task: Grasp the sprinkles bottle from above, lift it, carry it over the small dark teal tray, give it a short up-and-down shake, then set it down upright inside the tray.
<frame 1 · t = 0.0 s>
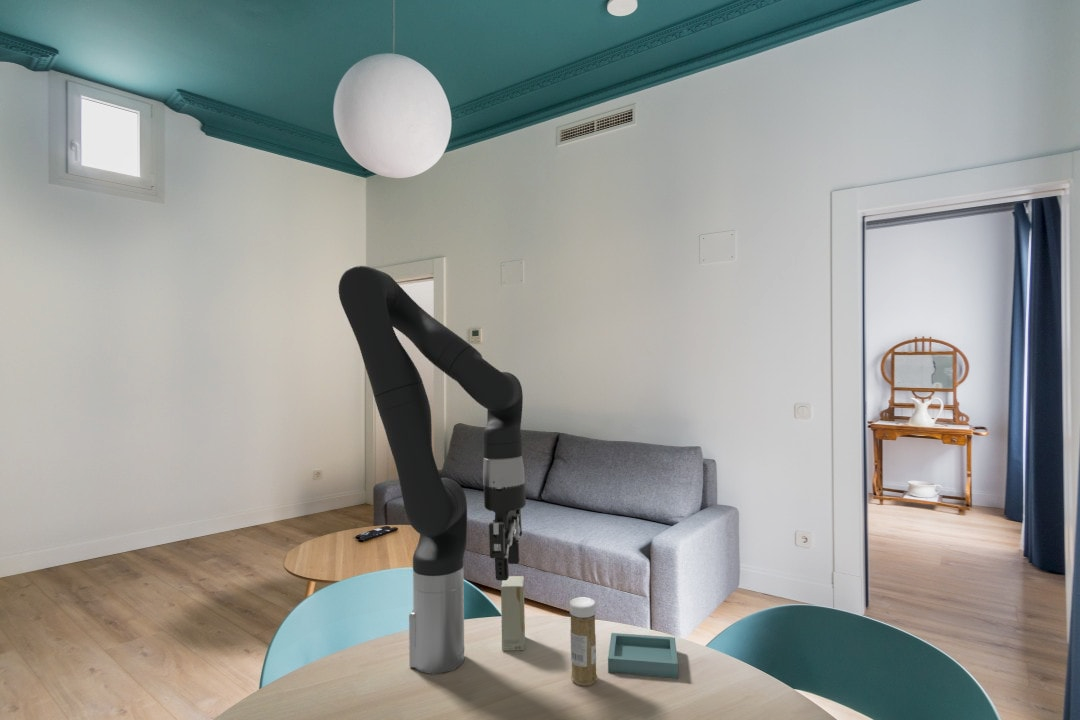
hand: (508, 571, 104), 17 cm above the table, tool pointing down, fingers open, 8 cm apart
skincare box: (513, 644, 113), on the table
sprinkles bottle: (583, 681, 99), on the table
tray: (642, 661, 105), on the table
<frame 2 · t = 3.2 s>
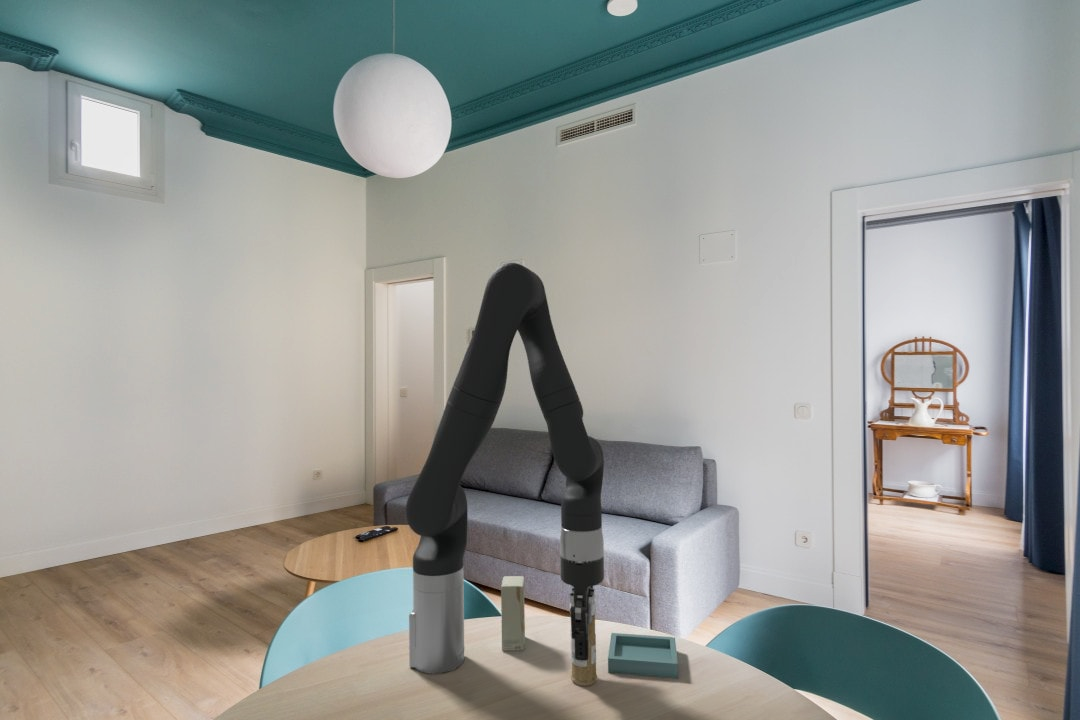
hand: (583, 651, 99), 5 cm above the table, tool pointing down, fingers closed on sprinkles bottle, 4 cm apart
sprinkles bottle: (583, 680, 99), on the table, touching gripper
everything else where it was.
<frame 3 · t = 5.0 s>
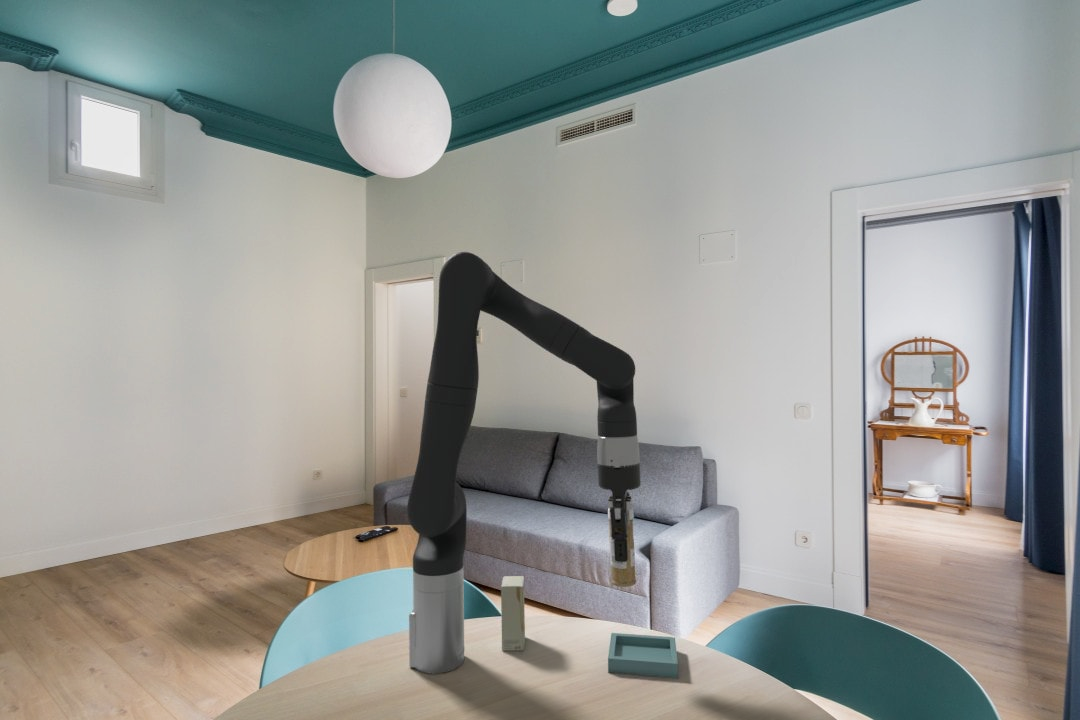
hand: (622, 556, 103), 20 cm above the table, tool pointing down, fingers closed on sprinkles bottle, 4 cm apart
sprinkles bottle: (623, 584, 103), point 15 cm above the table, touching gripper
everything else where it was.
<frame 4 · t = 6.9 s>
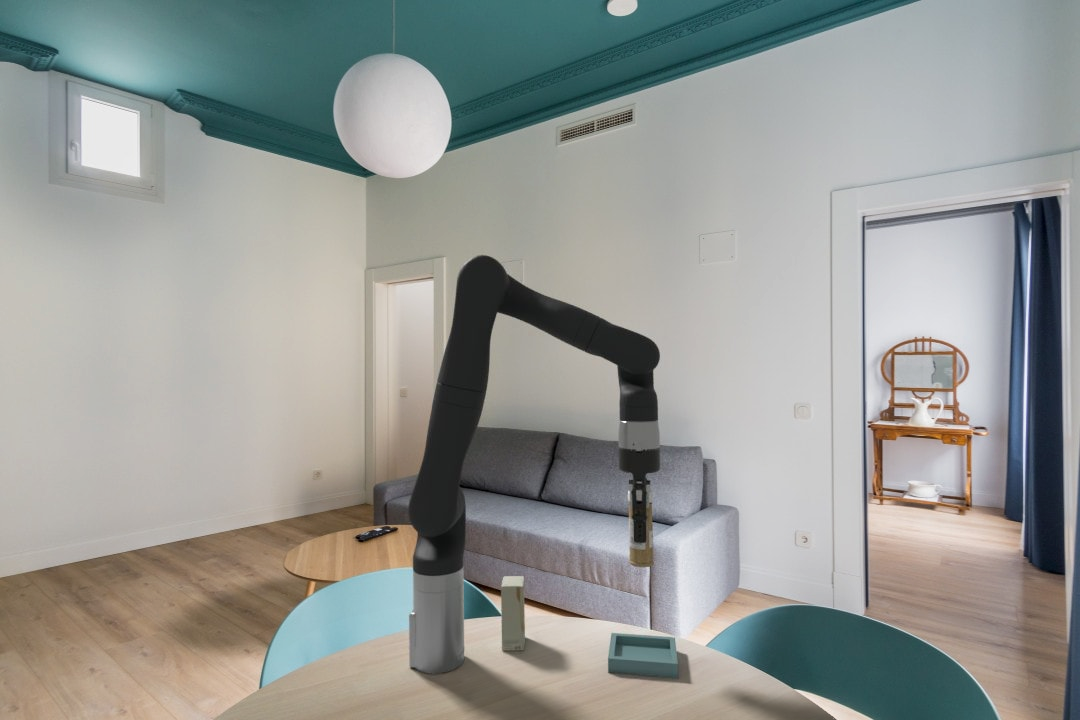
hand: (640, 537, 106), 22 cm above the table, tool pointing down, fingers closed on sprinkles bottle, 4 cm apart
sprinkles bottle: (641, 565, 105), point 17 cm above the table, touching gripper
everything else where it was.
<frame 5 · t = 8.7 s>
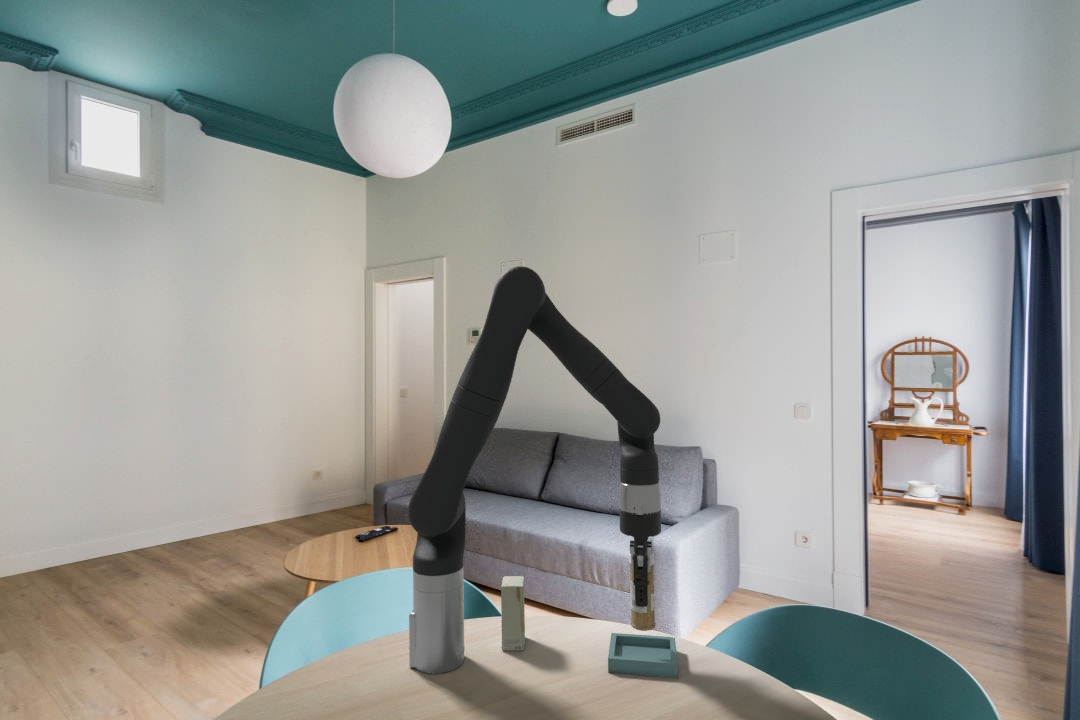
hand: (641, 599, 105), 11 cm above the table, tool pointing down, fingers closed on sprinkles bottle, 4 cm apart
sprinkles bottle: (642, 627, 105), point 6 cm above the table, touching gripper
everything else where it was.
when the fingers open (7 cm above the table, at t = 10.5 s): sprinkles bottle stays where it is, resting on tray.
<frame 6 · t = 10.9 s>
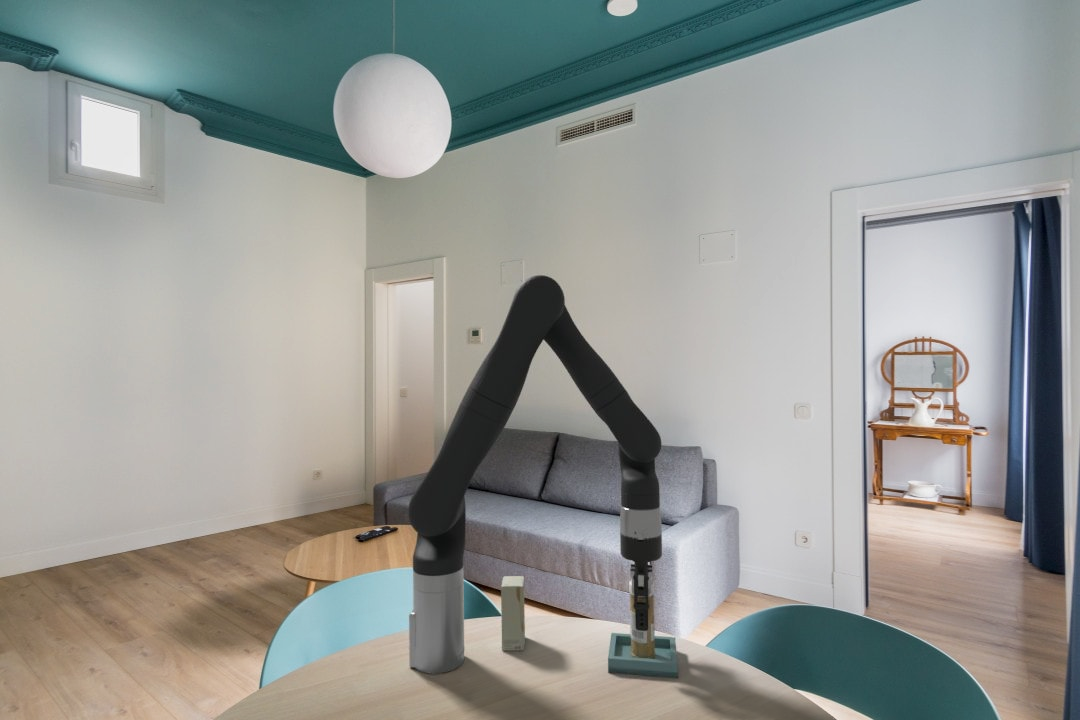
hand: (642, 619, 105), 8 cm above the table, tool pointing down, fingers open, 8 cm apart
sprinkles bottle: (642, 656, 105), point 1 cm above the table, touching tray
everything else where it was.
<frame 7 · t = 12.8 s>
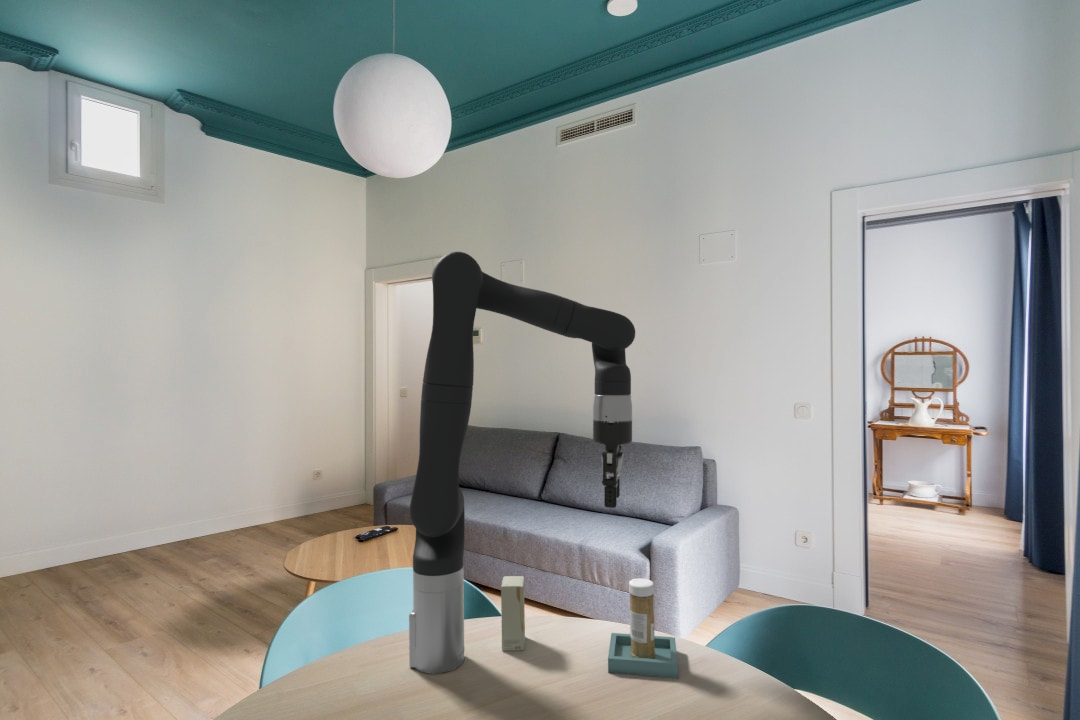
hand: (612, 502, 111), 28 cm above the table, tool pointing down, fingers open, 8 cm apart
nothing on the table moved.
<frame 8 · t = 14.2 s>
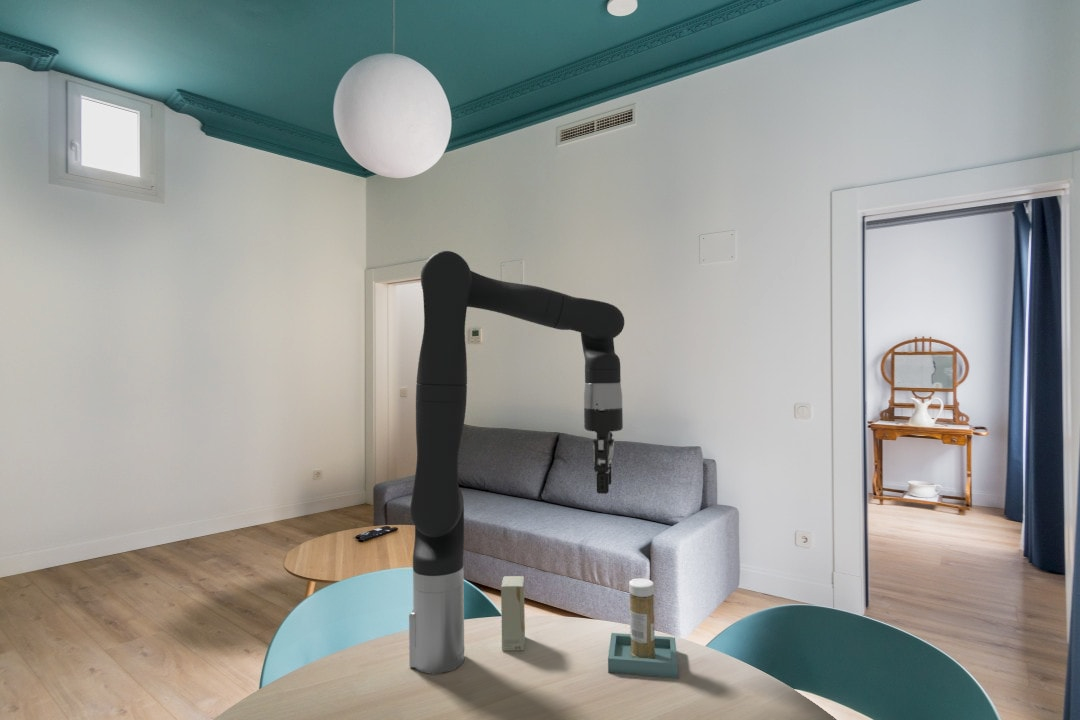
hand: (604, 488, 113), 30 cm above the table, tool pointing down, fingers open, 8 cm apart
nothing on the table moved.
at the end: sprinkles bottle inside the target area on the tray (0.0 cm from its centre), point 0.8 cm above the tray's base; sprinkles bottle tilted 0°; the gripper is holding nothing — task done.
